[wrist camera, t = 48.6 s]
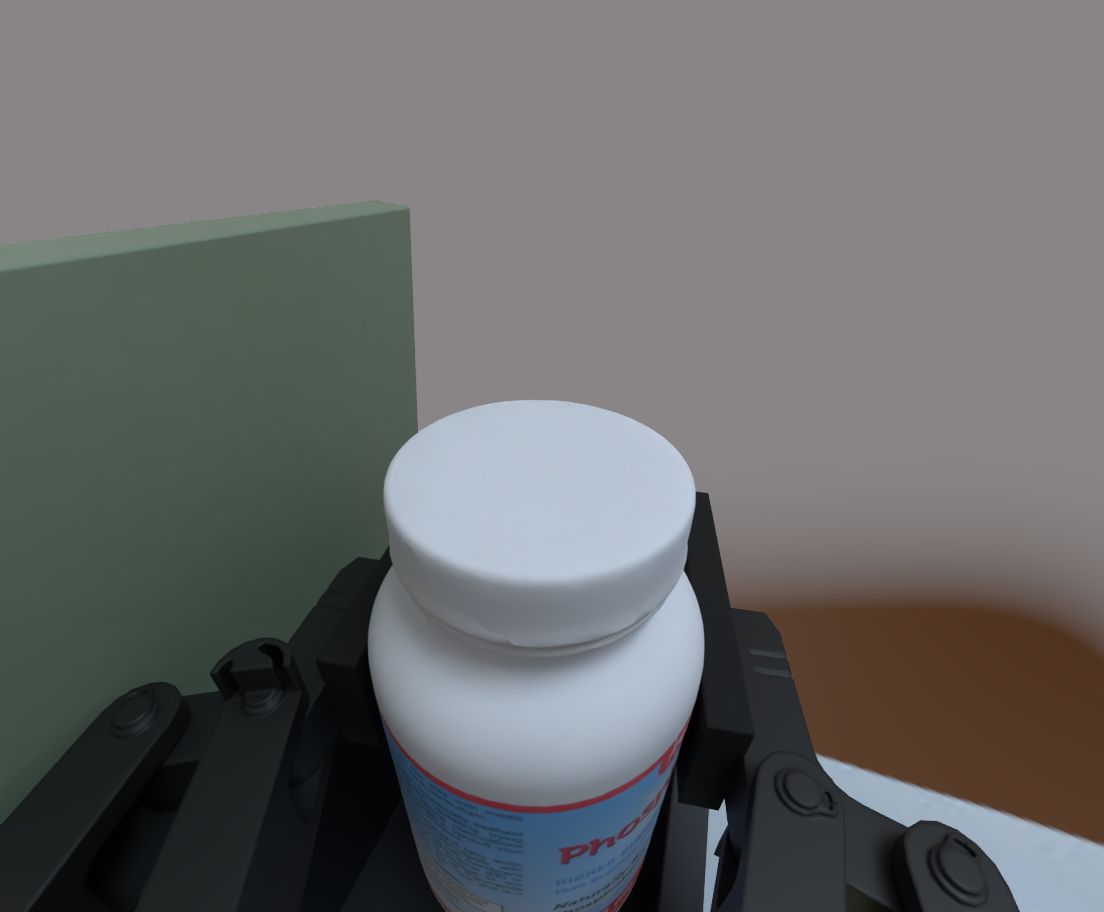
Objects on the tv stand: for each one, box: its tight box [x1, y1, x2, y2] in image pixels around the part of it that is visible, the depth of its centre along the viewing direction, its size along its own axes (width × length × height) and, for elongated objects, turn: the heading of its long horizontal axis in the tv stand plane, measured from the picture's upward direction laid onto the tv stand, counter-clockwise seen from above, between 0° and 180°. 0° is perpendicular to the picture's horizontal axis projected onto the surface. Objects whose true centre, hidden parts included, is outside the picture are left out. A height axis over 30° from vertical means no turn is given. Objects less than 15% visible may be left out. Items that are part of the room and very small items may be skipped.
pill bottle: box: [368, 400, 704, 912], centre depth 10 cm, size 6×6×11 cm
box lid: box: [0, 201, 418, 825], centre depth 12 cm, size 13×12×8 cm
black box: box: [300, 726, 709, 912], centre depth 16 cm, size 12×12×10 cm
